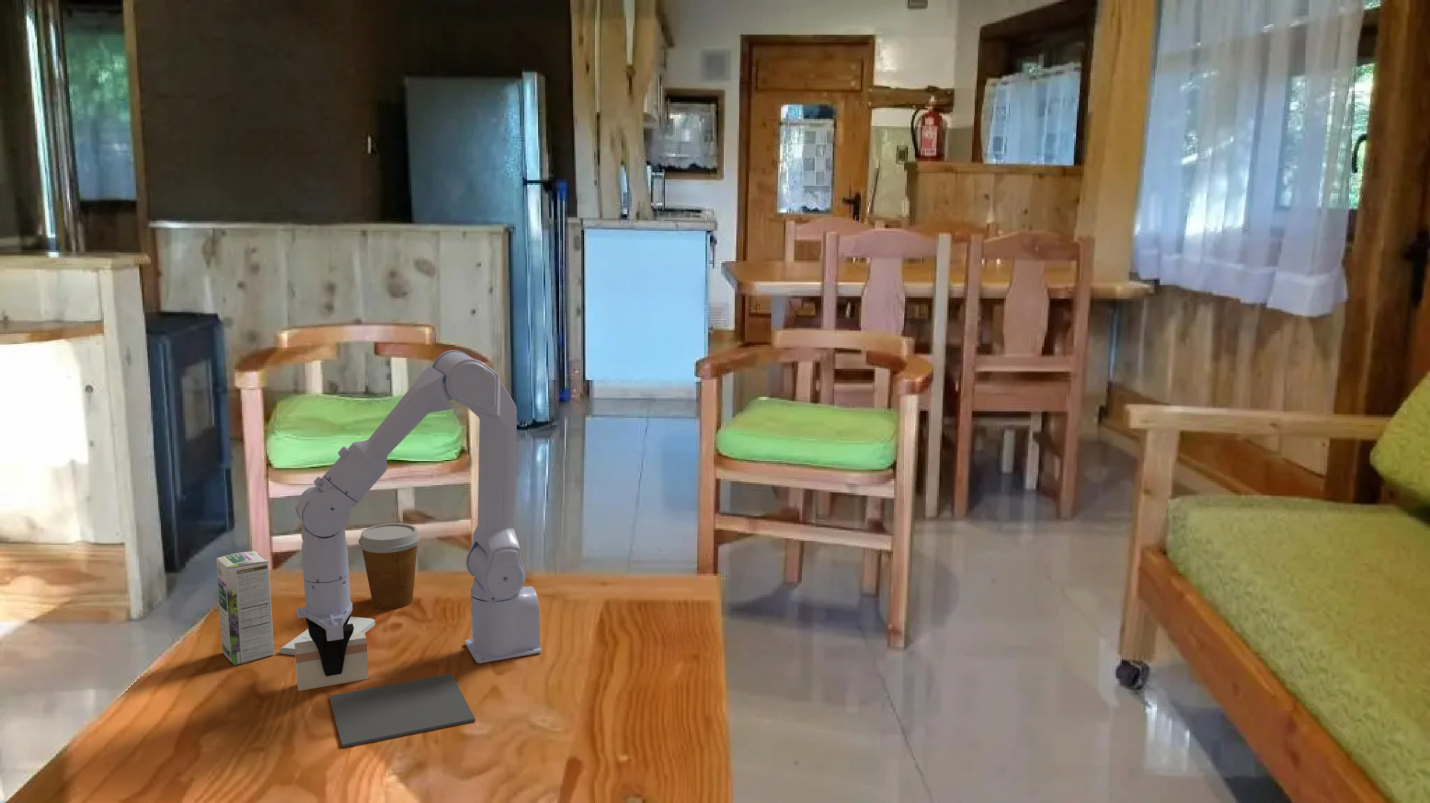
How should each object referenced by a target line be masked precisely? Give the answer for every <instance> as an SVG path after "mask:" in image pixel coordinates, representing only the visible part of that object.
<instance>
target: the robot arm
mask: <svg viewBox="0 0 1430 803" xmlns="http://www.w3.org/2000/svg"><path fill="white" fill-rule="evenodd" d="M452 400H453V401H454V402H456V403H458V404H460V405H462V406H464V407H466V408H467V409H469V410H470V411H471V412H472V413H473V414H474V415H475V416H476V417H477V418H478V419H479V425H478V426H479V428H478V430H479V432H478V433H479V434H478V439H479V442H478V482H477V483H478V487H477V488H478V489H477V490H478V492H477V493H478V495H477V496H478V497H477V498H478V499H477V526H476V527H475V529H474V531H473V533H472V543H471V547H470V548H469V550H468V552H467V554H466V557H465V558H466V559H465V565H466V570H467V571H468V573H469V575H471V577H474V578H473V583H472V586H471V588H470V605H471V607H470V608H471V609H470V610H471V611H470V612H471V635H472V638H469V639H466V640H465V641H464V644H465V646H466V648H467V649H468V651H469V653H470V654H471V656H472V657H473V659H474V660H475V663H477V664H484V663H490V662H496V661H500V660H507V659H512V658H518V657H523V656H529V655H534V654H540V653H542V652H543V651H542V648H541V632H540V631H541V630H540V629H541V627H540V626H541V625H540V624H541V623H540V620H541V619H540V603H539V599H538V598H539V597H538V595H537V591H536V590H535V587H533V586H530V585H529V586H524V585H525V583H526V580H527V579H526V578H527V571H526V568H525V566H524V564H523V562H522V558H521V548H520V544H519V539H518V537H517V535H516V534H517V533H516V532H515V513H516V512H515V509H516V508H515V506H516V505H515V502H516V501H515V500H516V498H515V497H516V470H517V468H516V466H517V464H516V463H517V460H516V459H517V421H518V419H517V418H518V416H517V414H518V411H517V405H516V403H515V402H514V400H513V399H512V397H511V395H510V394H509V392H508V391H507V389H506V387H505V386H504V384H503V382H502V381H501V379H500V376H499V373H497V372H496V370H493V369H492V368H491V367H490V366H488V364H486V363H484V362H483V361H482V360H479V359H475V358H473V357H472V356H470V355H469V354H467V353H466V352H464V351H461V350H457V349H452V350H447V351H444V352H442V353H441V354H439V355H438V356H437V357H436V358H435V359H434V361H433V363H432V366H431V365H429V366H427V367H426V368H425V369H423V370H422V372H421V373H420V374H419V376H418V377H417V379H416V380H415V381H414V382H413V384H412V385H411V386H410V388H408V390H407V392H406V393H405V394H404V395H403V396H402V398H400V400H399V401H398V402H397V404H396V405H395V406H394V407H393V408H392V410H391V411H390V412H389V413H388V415H387V416H386V417H385V418H384V420H383V421H382V422H381V424H379V425H378V427H377V428H376V429H375V431H374V432H373V433H371V434H372V435H370V436H369V438H368V439H366V440H360V441H354V442H352V444H351V445H349V447H348V448H347V447H346V446H345V445H344V446H341V449H339V450H338V452H337V454H338V456H339V458H337V459H336V461H335V462H334V463H333V464H332V466H330V467H329V469H328V470H327V471H326V472H325V473H324V475H323V476H321V477H320V476H317V477H316V478H315V479H314V480H313V484H314V485H313V486H310V487H308V488H306V489H305V490H304V491H303V492H302V493H301V494H300V496H299V498H298V501H297V505H296V506H295V512H296V515H297V516H298V518H299V519H300V521H301V522H302V525H301V534H300V535H301V540H302V543H301V558H302V560H301V561H302V574H303V575H302V576H303V586H304V588H303V589H304V600H305V601H304V602H305V606H303V607H298V608H296V611H295V612H296V617H297V618H298V619H303V618H304V619H305V623H306V625H307V629H308V631H309V635H310V637H311V639H312V640H313V642H314V643H315V645H316V647H317V649H318V651H319V654H320V658H321V663H322V667H323V670H324V673H325V675H326V676H332V675H338V674H342V670H343V666H344V659H345V652H346V648H347V644H348V642H349V639H350V637H351V635H352V634H353V630H354V626H353V624H347V623H348V621H349V619H350V617H351V614H352V612H353V607H354V606H353V602H352V601H351V582H350V567H349V566H350V565H349V552H348V550H349V549H348V541H347V539H346V527H347V526H348V525H349V522H350V519H351V509H352V508H354V507H356V506H357V505H358V503H359V502H360V501H361V500H362V499H363V498H364V496H365V495H367V493H368V492H369V491H370V490H371V489H372V488H373V487H374V485H376V484H377V482H378V480H380V479H381V478H382V476H383V475H384V474H385V473H386V472H387V470H388V456H389V455H390V454H391V453H392V452H393V450H394V449H396V447H398V445H399V444H401V443H402V441H404V439H405V438H406V437H407V436H408V435H409V434H410V433H412V431H413V430H414V429H415V428H416V427H417V426H418V425H419V424H420V423H421V422H422V421H423V420H424V419H425V418H426V417H427V416H428V415H430V414H432V413H437V412H441V411H442V412H443V411H447V410H448V411H449V410H453V409H454V407H453V405H452V403H451V402H450V401H452Z"/></svg>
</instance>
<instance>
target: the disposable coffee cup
mask: <svg viewBox="0 0 1430 803" xmlns="http://www.w3.org/2000/svg"><path fill="white" fill-rule="evenodd" d="M420 540H421V535H420V534H419V532H418V529H417V527H416V526H415V525H413V524H408V523H401V522H398V523H397V522H393V523H392V522H391V523H389V522H388V523H383V524H382V523H381V524H375V525H371V526H369V527H367V528H365V529H363V530H362V531H361V534H360V537H359V539H358V545H359V546H360V549H361V550H362V555H363V561H364V565H365V571H366V576H367V582H368V586H369V591H370V596H371V601H372V602H371V603H372V606H373V607H375V608H377V609H383V610H393V609H399V608H403V607H406V606H408V605H410V604H411V603H413V600H414V588H415V578H416V577H415V576H416V566H417V553H418V544H419V542H420Z"/></svg>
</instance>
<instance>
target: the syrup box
mask: <svg viewBox="0 0 1430 803" xmlns="http://www.w3.org/2000/svg"><path fill="white" fill-rule="evenodd" d="M215 560H216V571H217V573H216V574H217V591H218V606H219V621H220V623H219V624H220V625H219V626H220V635H221V636H220V638H221V648H222V651H221V652H222V654H223V655H224V656H225V657H226V658H227V659H228V661H230V662H231V663H232V664H233V665H234V666H238V665H241V664H245V663H250V662H252V661H257V660H260V659H263V658H267V657H270V656H273V655H275V649H274V648H275V647H274V645H275V644H274V629H273V613H272V598H271V596H272V595H271V581H270V580H271V579H270V577H271V576H270V566H269V565H270V564H269V563H270V562H269V560H267V559H266V558H265V557H264V556H263V555H261V554H260V553H259V552H257V551H255V550H254V551H242V552H236V553H231V554H227V555H223V556H221V557H217V558H216V559H215Z"/></svg>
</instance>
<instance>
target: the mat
mask: <svg viewBox="0 0 1430 803" xmlns="http://www.w3.org/2000/svg"><path fill="white" fill-rule="evenodd" d="M329 701H330V705H331V709H332V713H333V716H334V720H335V726H336V729H337V732H338V736H339V740H340V743H341V744H340V745H341V748H342V749H343V748H349V747H353V746H358V745H364V744H368V743H375V742H378V741H384V740H388V739H394V738H398V737H404V736H408V735H414V734H418V733H419V734H420V733H423V732H428V731H433V730H437V729H443V728H448V727H453V726H458V725H463V724H469V723H473V722H476V718H475V716H474V713H473V712H472V710H471V709H470V707H469V706H470V705H469V704H468V702H467V700H466V698H465V697H464V695H463V692H462V691H461V689H460V687H459V685H458V683H457V680H456V679H455V678H454V676H453V674H452V673H448V674H443V675H436V676H432V677H431V676H430V677H425V678H419V679H414V680H407V681H404V682H403V681H402V682H397V683H391V684H386V685H381V686H375V687H370V688H364V689H358V690H352V691H346V692H342V693H336V694H335V693H334V694H330V695H329Z"/></svg>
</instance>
